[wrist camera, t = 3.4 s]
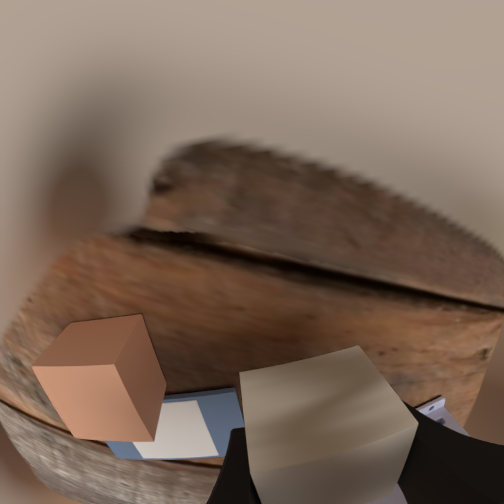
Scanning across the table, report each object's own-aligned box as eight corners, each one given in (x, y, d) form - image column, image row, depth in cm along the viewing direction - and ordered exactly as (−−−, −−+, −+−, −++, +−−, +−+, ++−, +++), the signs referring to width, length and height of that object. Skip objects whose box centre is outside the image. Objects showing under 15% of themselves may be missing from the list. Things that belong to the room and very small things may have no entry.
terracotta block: (141, 313, 14) (114, 364, 9) (166, 383, 15) (154, 441, 10) (70, 322, 14) (31, 366, 9) (99, 387, 15) (75, 437, 10)
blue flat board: (234, 387, 15) (235, 392, 15) (252, 448, 17) (252, 453, 16) (82, 397, 15) (79, 401, 14) (119, 454, 16) (117, 458, 16)
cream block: (358, 345, 10) (418, 423, 6) (354, 422, 11) (392, 493, 7) (239, 372, 10) (250, 473, 6) (258, 445, 11) (271, 528, 7)
